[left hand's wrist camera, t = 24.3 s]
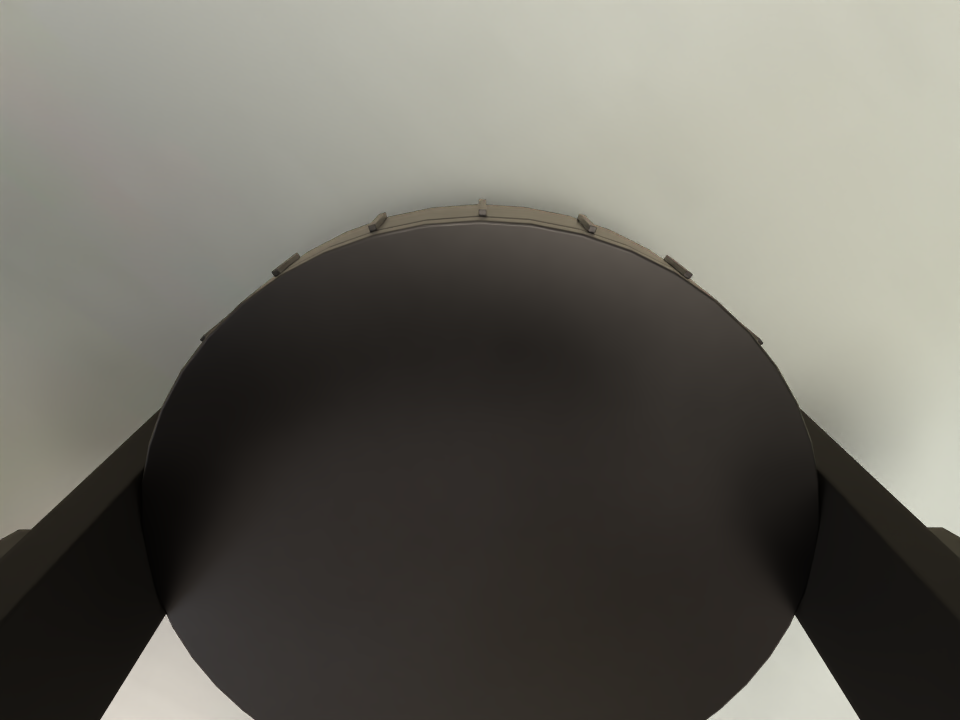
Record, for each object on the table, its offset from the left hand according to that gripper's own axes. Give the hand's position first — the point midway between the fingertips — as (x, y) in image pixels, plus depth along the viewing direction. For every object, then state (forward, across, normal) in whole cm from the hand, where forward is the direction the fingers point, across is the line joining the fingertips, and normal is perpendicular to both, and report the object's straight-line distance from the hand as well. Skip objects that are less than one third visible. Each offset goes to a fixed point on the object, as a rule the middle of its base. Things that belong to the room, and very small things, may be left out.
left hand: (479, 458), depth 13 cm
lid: (-3, 0, 0) cm, 3 cm away
